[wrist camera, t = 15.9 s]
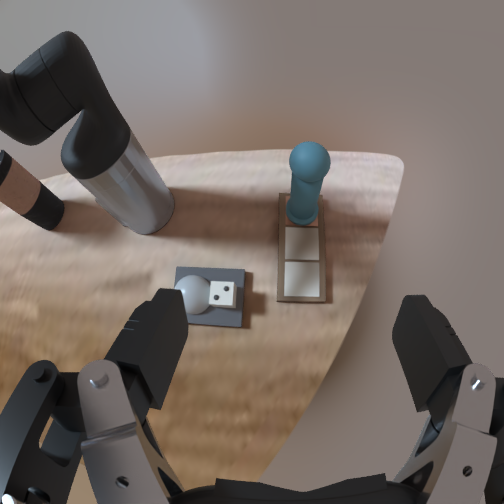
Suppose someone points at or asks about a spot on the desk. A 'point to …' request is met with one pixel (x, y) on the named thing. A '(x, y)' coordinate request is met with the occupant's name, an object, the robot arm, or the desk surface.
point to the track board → (301, 257)
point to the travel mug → (28, 194)
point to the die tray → (217, 312)
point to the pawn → (306, 181)
